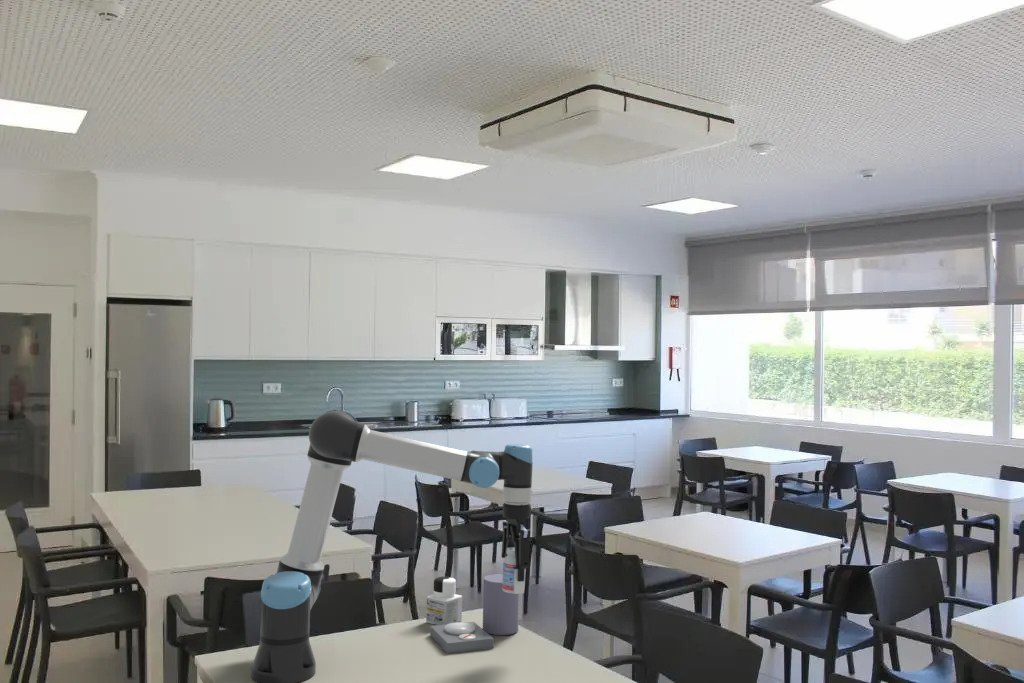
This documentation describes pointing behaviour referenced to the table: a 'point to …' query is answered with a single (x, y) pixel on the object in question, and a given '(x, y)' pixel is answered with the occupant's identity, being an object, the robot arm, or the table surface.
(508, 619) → the container
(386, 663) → the table surface
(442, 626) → the scale
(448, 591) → the container
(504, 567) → the pill bottle
